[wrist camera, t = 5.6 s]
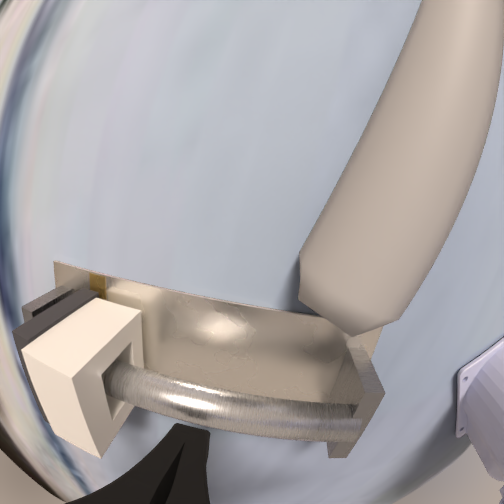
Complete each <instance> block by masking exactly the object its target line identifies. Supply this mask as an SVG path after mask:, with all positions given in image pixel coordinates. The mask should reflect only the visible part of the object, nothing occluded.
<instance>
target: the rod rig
mask: <svg viewBox="0 0 504 504" xmlns="http://www.w3.org/2000/svg"><path fill="white" fill-rule="evenodd" d="M54 274H55V285H56V288H55V289H53V290H52V291H50V292H48V293H46V294H44V295H42V296H40V297H39V298H37V299H35V300H33V301H31V302H29V303H28V304H26V305H24V306H22V312H23V317H24V322H25V323H26V322H27V321H29V320H30V319H32V318H34V317H35V316H37V315H38V314H40V313H42V312H43V311H45V310H46V309H48V308H50V307H51V306H53V305H55V304H56V303H58V302H60V301H61V300H63V299H65V298H67V297H68V296H70V295H72V294H73V293H75V292H77V291H78V290H80V289H82V288H86V289H89V290H92V291H96V292H99V299H103V300H106V301H109V302H113V303H116V304H120V305H123V306H127V307H130V308H134V309H138V310H141V320H142V345H143V362H144V368H141V367H138V366H135V365H132V364H129V363H126V362H123V361H120V360H117V359H115V360H114V361H113V362H112V363H111V365H110V366H109V367H108V368H107V369H106V370H105V371H104V372H103V373H102V375H101V376H102V381H103V385H104V390H105V394H106V395H108V396H111V397H113V398H116V399H118V400H121V401H123V402H126V403H129V404H132V405H134V406H137V407H140V408H143V409H146V410H149V411H152V412H155V413H158V414H161V415H165V416H168V417H171V418H175V419H178V420H182V421H186V422H190V423H194V424H198V425H202V426H206V427H211V428H215V429H220V430H225V431H230V432H236V433H242V434H248V435H254V436H261V437H269V438H278V439H288V440H300V441H318V442H327V449H328V457H329V458H346V457H347V456H348V454H349V453H350V452H351V450H352V449H353V447H354V446H355V444H356V443H357V441H358V439H359V438H360V436H361V435H362V433H363V431H364V430H365V428H366V427H367V425H368V423H369V422H370V420H371V418H372V416H373V415H374V413H375V411H376V409H377V408H378V406H379V404H380V402H381V400H382V398H383V397H384V395H385V391H384V389H383V386H382V384H381V382H380V380H379V378H378V375H377V373H376V371H375V369H374V367H373V364H372V362H371V357H372V355H373V352H374V350H375V347H376V344H377V342H378V339H379V337H380V334H381V331H382V328H383V326H382V327H379V328H377V329H374V330H371V331H369V332H366V333H363V334H360V335H357V336H354V337H351V336H349V335H348V334H346V333H345V332H343V331H342V330H341V329H339V328H338V327H336V326H335V325H333V324H332V323H331V322H329V321H328V320H326V319H325V318H324V317H322V316H318V315H310V314H304V313H297V312H290V311H284V310H278V309H271V308H265V307H259V306H254V305H248V304H242V303H237V302H231V301H226V300H221V299H215V298H210V297H205V296H200V295H195V294H190V293H185V292H181V291H176V290H171V289H167V288H162V287H158V286H153V285H149V284H145V283H140V282H136V281H132V280H128V279H124V278H120V277H115V276H112V275H108V274H104V273H100V272H96V271H92V270H88V269H85V268H81V267H77V266H74V265H70V264H66V263H63V262H59V261H56V260H55V261H54Z"/></svg>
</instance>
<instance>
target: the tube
mask: <svg viewBox="0 0 504 504" xmlns="http://www.w3.org/2000/svg"><path fill="white" fill-rule="evenodd" d="M503 46H504V0H422V2H421V4H420V7H419V9H418V12H417V14H416V17H415V19H414V22H413V24H412V27H411V29H410V32H409V34H408V36H407V39H406V41H405V43H404V46H403V48H402V50H401V53H400V55H399V57H398V59H397V62H396V64H395V66H394V68H393V71H392V73H391V75H390V77H389V79H388V82H387V84H386V86H385V88H384V90H383V92H382V94H381V97H380V99H379V101H378V103H377V105H376V107H375V109H374V111H373V113H372V115H371V117H370V120H369V122H368V124H367V126H366V128H365V130H364V132H363V134H362V136H361V138H360V140H359V142H358V144H357V146H356V148H355V150H354V152H353V154H352V156H351V158H350V160H349V161H348V163H347V165H346V167H345V169H344V171H343V173H342V175H341V177H340V179H339V181H338V183H337V184H336V186H335V188H334V190H333V192H332V194H331V196H330V198H329V199H328V201H327V203H326V205H325V207H324V209H323V211H322V212H321V214H320V216H319V218H318V220H317V221H316V223H315V225H314V227H313V229H312V230H311V232H310V234H309V236H308V238H307V239H306V241H305V243H304V245H303V247H302V248H301V250H300V252H299V261H300V287H299V294H298V300H300V301H301V302H302V303H304V304H305V305H307V306H308V307H309V308H311V309H312V310H314V311H315V312H316V313H318V314H319V315H321V316H322V317H324V318H325V319H326V320H328V321H329V322H331V323H332V324H333V325H335V326H336V327H338V328H339V329H341V330H342V331H343V332H345V333H346V334H348V335H349V336H351V337H354V336H357V335H360V334H363V333H366V332H369V331H371V330H374V329H377V328H379V327H382V326H384V325H387V324H389V323H392V322H394V321H396V320H399V319H400V317H401V316H402V314H403V313H404V311H405V310H406V308H407V307H408V305H409V304H410V302H411V301H412V299H413V297H414V296H415V294H416V293H417V291H418V289H419V288H420V286H421V285H422V283H423V281H424V280H425V278H426V276H427V274H428V273H429V271H430V269H431V268H432V266H433V264H434V262H435V260H436V259H437V257H438V255H439V253H440V251H441V249H442V247H443V245H444V243H445V241H446V240H447V238H448V236H449V233H450V231H451V229H452V227H453V225H454V223H455V221H456V219H457V217H458V214H459V212H460V210H461V208H462V205H463V203H464V201H465V198H466V196H467V193H468V191H469V188H470V186H471V183H472V181H473V178H474V175H475V172H476V170H477V167H478V164H479V161H480V158H481V155H482V152H483V149H484V145H485V142H486V138H487V135H488V131H489V128H490V124H491V120H492V116H493V111H494V107H495V102H496V97H497V92H498V86H499V80H500V74H501V66H502V57H503Z"/></svg>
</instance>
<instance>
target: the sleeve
mask: <svg viewBox="0 0 504 504" xmlns="http://www.w3.org/2000/svg"><path fill="white" fill-rule="evenodd" d="M21 351H22V354H23V357H24V361H25V364H26V367H27V370H28V372H29V375H30V378H31V381H32V383H33V386H34V389H35V391H36V394H37V396H38V399H39V401H40V403H41V406H42V408H43V410H44V412H45V414H46V417H47V419H48V421H49V423H50V425H51V427H52V429H53V431H54V433H55V434H56V435H58V436H59V437H61V438H63V439H65V440H66V441H68V442H70V443H71V444H73V445H75V446H77V447H79V448H81V449H82V450H84V451H86V452H88V453H90V454H92V455H94V456H96V457H98V458H100V459H102V457H103V455H104V454H105V452H106V450H107V449H108V447H109V446H110V444H111V442H112V441H113V439H114V438H115V436H116V434H117V433H118V431H119V430H120V428H121V427H122V425H123V423H124V422H125V420H126V419H127V417H128V415H129V414H130V412H131V411H132V409H133V408H134V405H132V404H129V403H126V402H123V401H121V400H118V399H116V398H113V397H111V396H108V395H106V394H105V390H104V385H103V381H102V376H101V375H102V373H103V372H104V371H105V370H106V369H107V368H108V367H109V366H110V365H111V363H112V362H113V361H114V360H115V359H117V360H120V361H123V362H126V363H129V364H132V365H135V366H138V367H141V368H144V362H143V345H142V320H141V310H138V309H134V308H130V307H127V306H123V305H120V304H116V303H113V302H109V301H106V300H103V299H99V298H95V299H93V300H92V301H90V302H89V303H87V304H86V305H84V306H83V307H81V308H80V309H78V310H77V311H75V312H74V313H72V314H71V315H69V316H68V317H66V318H65V319H63V320H62V321H61V322H59V323H58V324H56V325H55V326H53V327H52V328H51V329H49V330H48V331H46V332H45V333H44V334H42V335H41V336H39V337H38V338H37V339H35V340H34V341H32V342H31V343H30V344H28V345H27V346H26V347H24V348H23V349H21Z"/></svg>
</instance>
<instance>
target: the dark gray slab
mask: <svg viewBox="0 0 504 504" xmlns="http://www.w3.org/2000/svg"><path fill="white" fill-rule="evenodd" d="M95 298H99V292H96V291H92V290H89V289H86V288H82V289H80V290H78V291H77V292H75V293H73V294H72V295H70V296H68V297H67V298H65V299H63V300H61V301H60V302H58V303H56V304H55V305H53V306H51V307H50V308H48V309H46V310H45V311H43V312H42V313H40V314H38V315H37V316H35V317H34V318H32V319H30V320H29V321H27V322H26V323H24V324H22V325H21V326H19V327H18V328H16V329H15V330H13V331H12V333H13V337H14V340H15V344H16V347H17V351H18V354H19V357H20V360H21V363H22V366H23V369H24V372H25V375H26V377H27V380H28V383H29V385H30V388H31V390H32V393H33V395H34V398H35V400H36V402H37V405H38V407H39V409H40V411H41V413H42V416H43V418H44V420H45V421H46V422H48V423H49V421H48V419H47V417H46V414H45V412H44V410H43V408H42V406H41V403H40V401H39V399H38V396H37V394H36V391H35V389H34V386H33V383H32V381H31V378H30V375H29V372H28V370H27V367H26V364H25V361H24V357H23V354H22V351H21V349H23V348H24V347H26V346H27V345H28V344H30V343H31V342H32V341H34V340H35V339H37V338H38V337H39V336H41V335H42V334H44V333H45V332H46V331H48V330H49V329H51V328H52V327H53V326H55V325H56V324H58V323H59V322H61V321H62V320H63V319H65V318H66V317H68V316H69V315H71V314H72V313H74V312H75V311H77V310H78V309H80V308H81V307H83V306H84V305H86V304H87V303H89V302H90V301H92V300H93V299H95ZM49 424H50V423H49Z"/></svg>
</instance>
